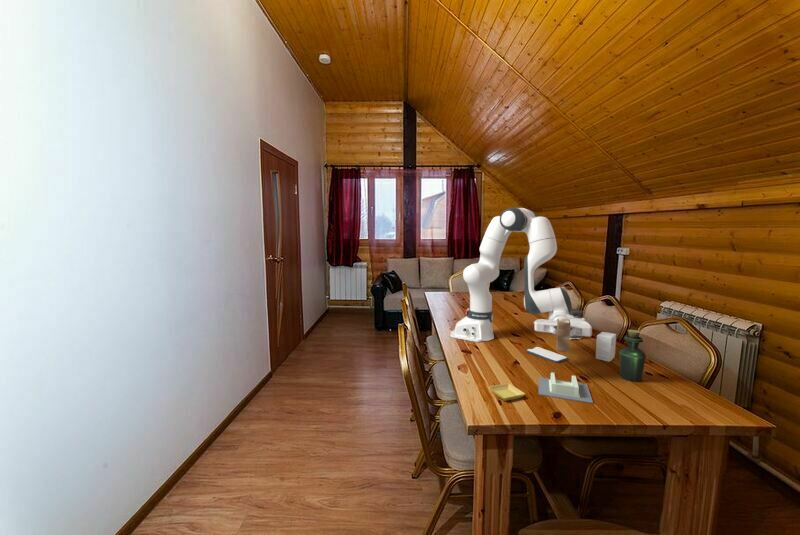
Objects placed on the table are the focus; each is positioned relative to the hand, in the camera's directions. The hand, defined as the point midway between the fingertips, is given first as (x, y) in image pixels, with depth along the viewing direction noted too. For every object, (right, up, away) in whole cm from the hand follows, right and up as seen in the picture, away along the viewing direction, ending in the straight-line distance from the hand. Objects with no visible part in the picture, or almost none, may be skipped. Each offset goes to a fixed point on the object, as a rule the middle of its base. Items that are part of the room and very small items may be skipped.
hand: (563, 333), depth 125 cm
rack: (-4, -18, -9) cm, 20 cm away
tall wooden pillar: (0, -6, +2) cm, 7 cm away
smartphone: (+4, -15, +23) cm, 28 cm away
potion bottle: (+25, -17, 0) cm, 31 cm away
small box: (+28, -15, +21) cm, 38 cm away
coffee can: (+28, -12, +51) cm, 59 cm away
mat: (-4, -18, -9) cm, 21 cm away
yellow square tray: (-25, -19, -13) cm, 34 cm away
